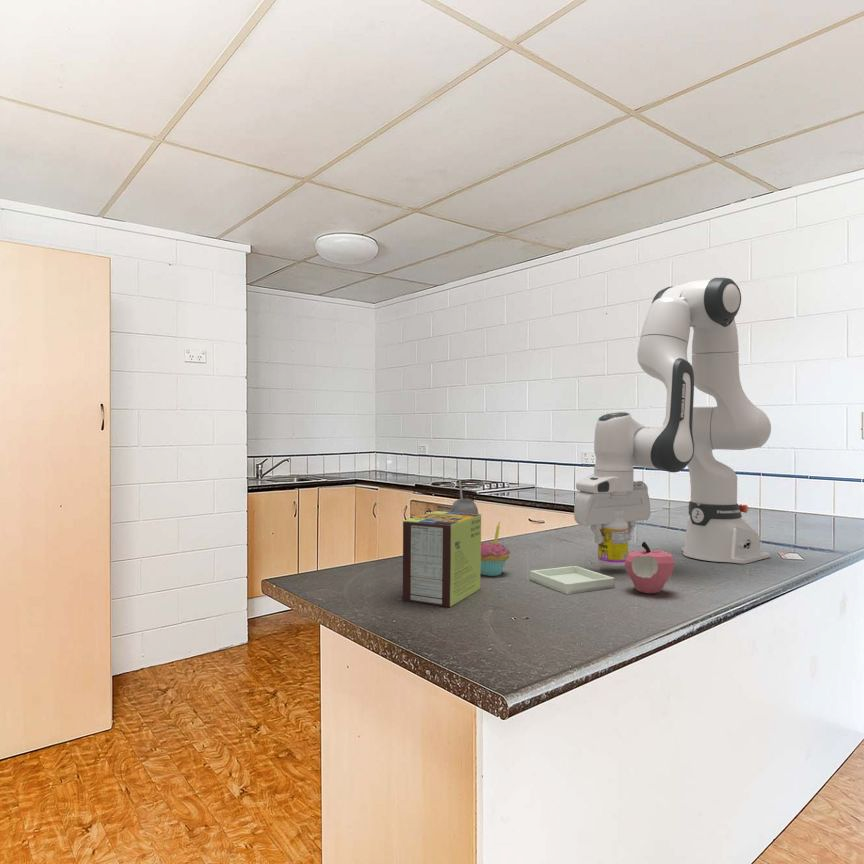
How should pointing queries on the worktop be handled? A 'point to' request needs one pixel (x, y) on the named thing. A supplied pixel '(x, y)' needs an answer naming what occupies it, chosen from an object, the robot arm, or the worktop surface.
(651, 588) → the apple
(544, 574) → the tray
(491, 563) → the cupcake
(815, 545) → the worktop surface
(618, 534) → the supplement bottle
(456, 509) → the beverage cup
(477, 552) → the protein box
